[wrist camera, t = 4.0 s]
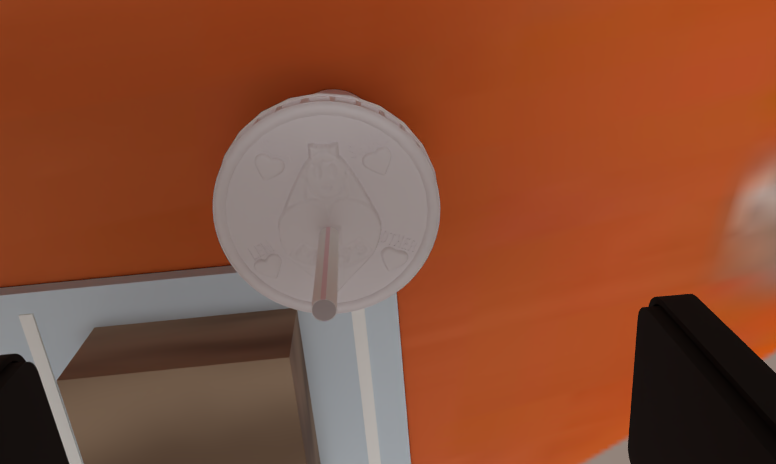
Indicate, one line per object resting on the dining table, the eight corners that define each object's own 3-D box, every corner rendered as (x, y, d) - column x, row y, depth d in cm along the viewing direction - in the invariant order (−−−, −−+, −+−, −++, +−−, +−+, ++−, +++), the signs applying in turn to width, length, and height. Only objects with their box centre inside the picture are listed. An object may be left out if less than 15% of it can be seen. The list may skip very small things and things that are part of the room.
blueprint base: (-14, 289, 28) (-81, 348, 24) (392, 249, 29) (400, 300, 24) (66, 511, 33) (22, 595, 29) (411, 475, 34) (421, 551, 29)
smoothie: (265, 210, 28) (193, 420, 15) (247, 58, 25) (141, 148, 12) (412, 201, 28) (470, 400, 15) (409, 50, 25) (472, 130, 13)
